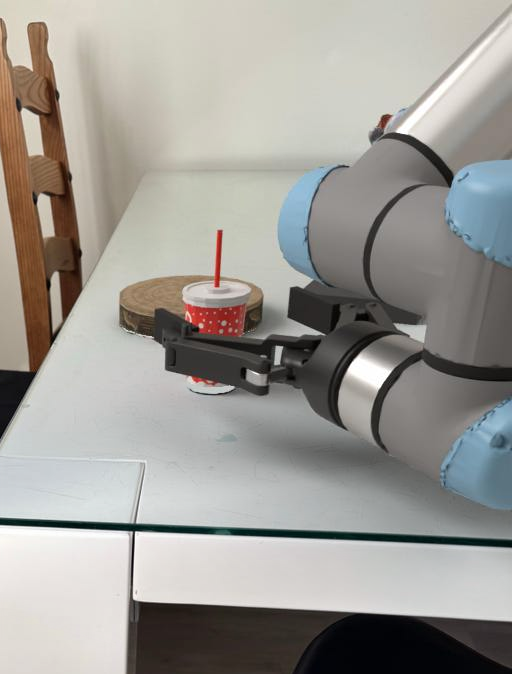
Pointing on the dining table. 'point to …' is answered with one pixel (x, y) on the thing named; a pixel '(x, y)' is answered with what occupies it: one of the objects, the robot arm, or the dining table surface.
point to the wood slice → (173, 302)
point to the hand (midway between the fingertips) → (226, 312)
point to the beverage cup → (216, 307)
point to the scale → (362, 302)
